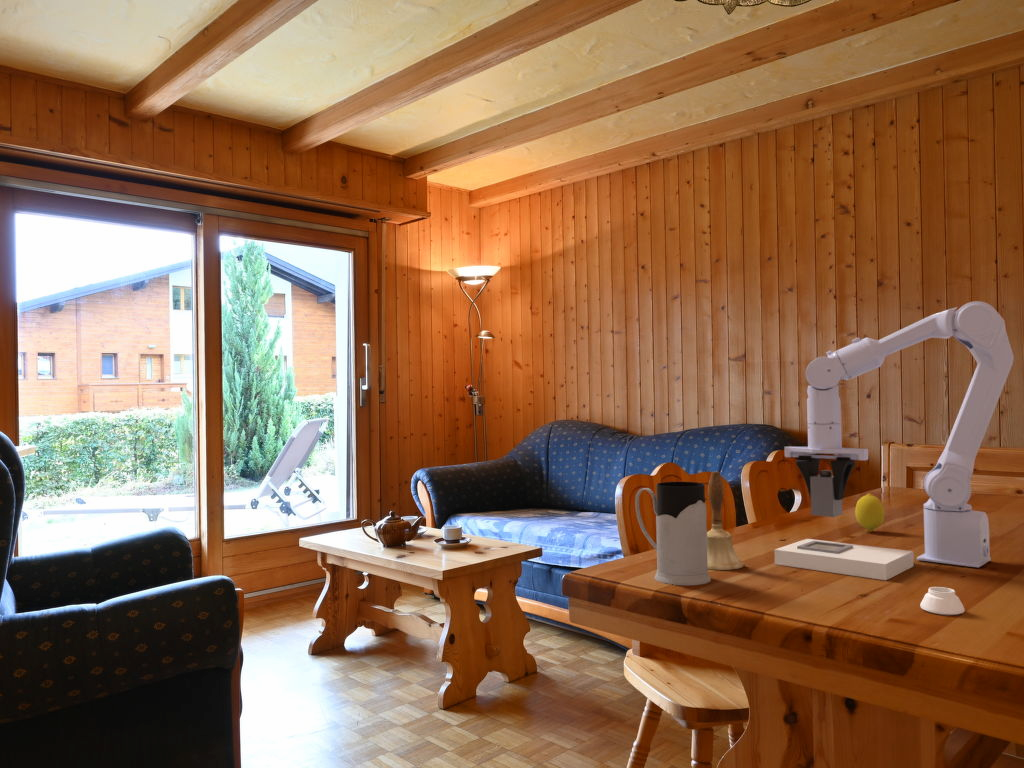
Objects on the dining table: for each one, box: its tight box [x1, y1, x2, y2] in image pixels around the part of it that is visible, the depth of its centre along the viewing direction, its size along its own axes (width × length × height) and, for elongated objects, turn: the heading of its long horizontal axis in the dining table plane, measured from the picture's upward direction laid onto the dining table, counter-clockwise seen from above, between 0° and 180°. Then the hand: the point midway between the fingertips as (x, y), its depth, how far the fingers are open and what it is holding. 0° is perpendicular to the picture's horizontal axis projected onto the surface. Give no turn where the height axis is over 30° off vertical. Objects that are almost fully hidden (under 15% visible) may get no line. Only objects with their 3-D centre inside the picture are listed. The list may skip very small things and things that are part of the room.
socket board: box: [774, 538, 915, 581], centre depth 129 cm, size 18×13×3 cm
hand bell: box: [707, 471, 745, 571], centre depth 131 cm, size 8×8×16 cm
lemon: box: [854, 493, 885, 533], centre depth 160 cm, size 6×6×8 cm
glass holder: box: [634, 481, 712, 586], centre depth 124 cm, size 9×14×15 cm, turn 36°
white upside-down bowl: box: [919, 586, 966, 616], centre depth 101 cm, size 5×3×5 cm
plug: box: [810, 469, 843, 518], centre depth 139 cm, size 4×4×8 cm
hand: (826, 498), depth 139 cm, fingers closed on plug, 4 cm apart
